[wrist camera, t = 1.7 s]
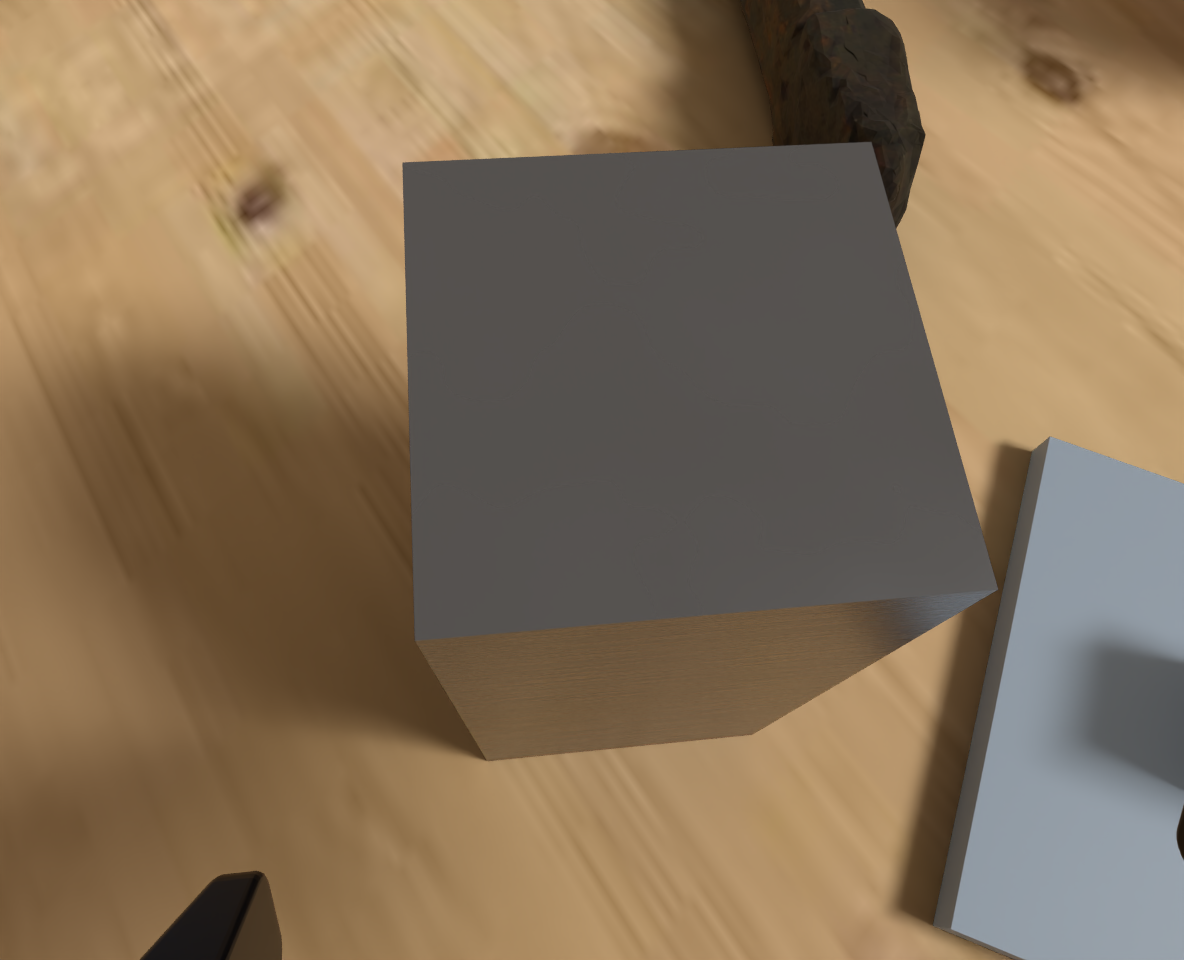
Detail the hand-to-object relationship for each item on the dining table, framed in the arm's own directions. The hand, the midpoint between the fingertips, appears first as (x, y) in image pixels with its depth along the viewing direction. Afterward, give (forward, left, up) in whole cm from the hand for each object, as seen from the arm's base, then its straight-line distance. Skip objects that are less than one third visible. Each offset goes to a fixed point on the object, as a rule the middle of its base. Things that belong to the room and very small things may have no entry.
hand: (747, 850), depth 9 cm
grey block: (+5, +2, -12) cm, 13 cm away
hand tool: (+25, 0, -12) cm, 28 cm away
